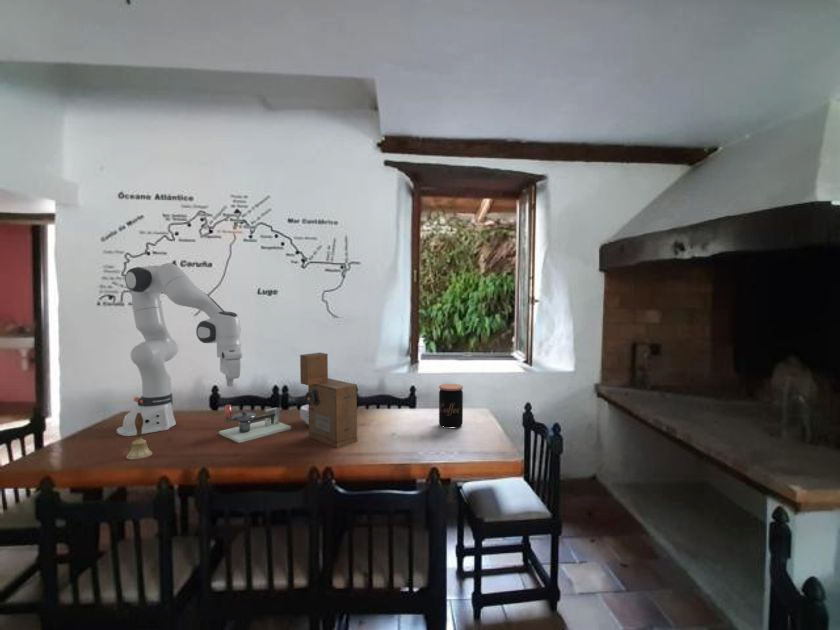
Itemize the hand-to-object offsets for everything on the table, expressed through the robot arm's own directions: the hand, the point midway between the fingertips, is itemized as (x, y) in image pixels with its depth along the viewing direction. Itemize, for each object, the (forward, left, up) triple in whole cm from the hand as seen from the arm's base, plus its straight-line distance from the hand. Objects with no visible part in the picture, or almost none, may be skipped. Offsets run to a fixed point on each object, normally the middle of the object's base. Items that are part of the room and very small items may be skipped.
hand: (229, 386), depth 182 cm
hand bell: (-30, +10, -23) cm, 39 cm away
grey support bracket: (+21, +4, -21) cm, 30 cm away
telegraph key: (+11, +4, -21) cm, 24 cm away
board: (+13, +4, -22) cm, 26 cm away
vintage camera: (+28, -28, -23) cm, 46 cm away
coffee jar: (+76, -54, -23) cm, 96 cm away
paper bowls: (+38, -6, -23) cm, 45 cm away
